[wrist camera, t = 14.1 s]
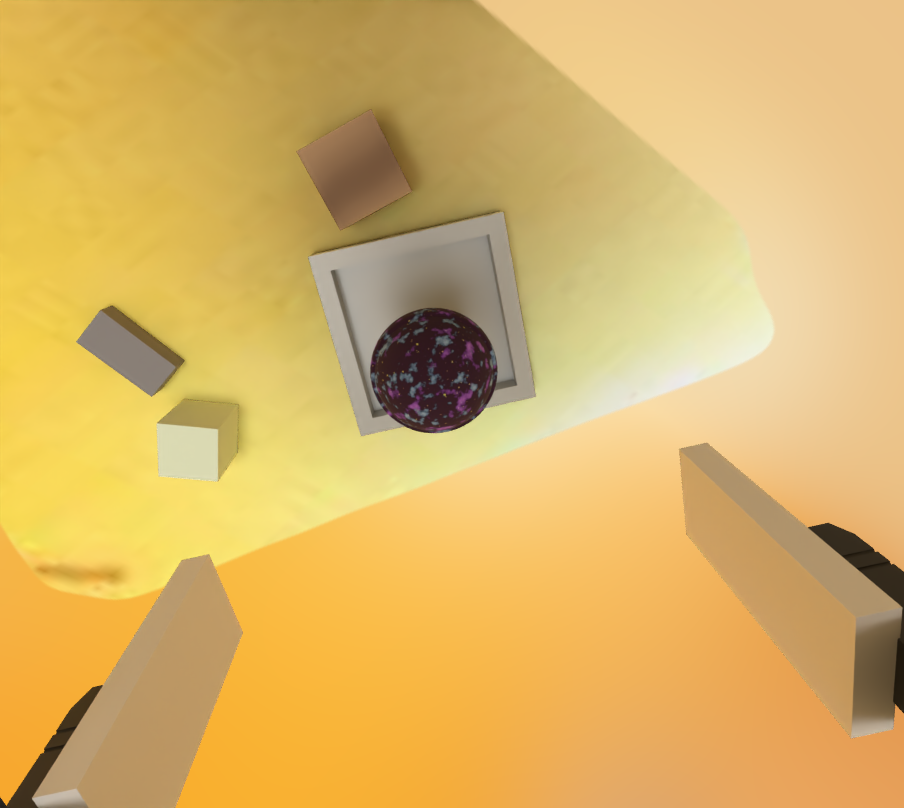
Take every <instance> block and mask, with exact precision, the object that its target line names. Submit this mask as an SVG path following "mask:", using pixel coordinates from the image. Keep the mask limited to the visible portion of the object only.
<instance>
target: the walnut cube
mask: <svg viewBox="0 0 904 808" xmlns="http://www.w3.org/2000/svg"><path fill="white" fill-rule="evenodd" d="M296 152H297V153H298V155H299V157H300V159H301V161H302V162H303V164H304V166H305V168H306V170H307V171H308V173H309V175H310V177H311V179H312V180H313V182H314V184H315V186H316V188H317V189H318V191H319V193H320V195H321V197H322V198H323V200H324V202H325V204H326V206H327V207H328V209H329V211H330V213H331V215H332V216H333V218H334V220H335V222H336V224H337V225H338V227H339V229H340V230H342V229H344V228H347V227H349V226H350V225H352V224H354V223H356V222H358V221H360V220H361V219H363V218H365V217H367V216H369V215H371V214H372V213H374V212H376V211H378V210H380V209H381V208H383V207H385V206H387V205H389V204H391V203H392V202H394V201H396V200H398V199H400V198H402V197H403V196H405V195H407V194H409V193H411V192H412V190H411V188H410V186H409V184H408V182H407V180H406V178H405V176H404V174H403V172H402V170H401V168H400V166H399V164H398V162H397V160H396V158H395V156H394V154H393V152H392V150H391V148H390V146H389V144H388V142H387V140H386V138H385V136H384V134H383V132H382V130H381V128H380V126H379V124H378V122H377V120H376V118H375V116H374V114H373V112H372V110H371V109H370V110H369V111H367V112H365V113H363V114H361V115H360V116H358V117H356V118H354V119H353V120H351V121H349V122H347V123H346V124H344V125H342V126H340V127H339V128H337V129H335V130H333V131H332V132H330V133H328V134H326V135H325V136H323V137H321V138H319V139H317V140H316V141H314V142H312V143H310V144H309V145H307V146H305V147H303V148H302V149H300V150H298V151H296Z"/></svg>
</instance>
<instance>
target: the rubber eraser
mask: <svg viewBox="0 0 904 808" xmlns="http://www.w3.org/2000/svg"><path fill="white" fill-rule="evenodd" d="M76 342H77V343H78V344H80V345H81V346H82V347H84V348H85V349H87V350H88V351H89V352H91V353H92V354H93V355H95V356H96V357H98V358H99V359H100V360H102V361H103V362H104V363H106V364H107V365H109V366H110V367H111V368H113V369H114V370H115V371H117V372H118V373H120V374H121V375H122V376H124V377H125V378H126V379H128V380H129V381H131V382H132V383H133V384H135V385H136V386H138V387H139V388H140V389H142V390H143V391H144V392H146V393H147V394H149V395H150V396H151V397H152V396H153V395H154V394H156V393H157V392H158V391H160V390H161V389H162V388H163V386H164V385H165V384H166V383H167V382H168V380H169V379H170V378H171V377H172V376H173V374H174V373H175V372H176V371H177V369H178V368H179V367H180V366H181V365H182V363H183V362H184V360H183V359H182V358H180V357H179V356H178V355H176V354H175V353H174V352H173V351H171V350H170V349H169V348H167V347H166V346H165V345H163V344H162V343H161V342H159V341H158V340H157V339H155V338H154V337H153V336H152V335H150V334H149V333H148V332H146V331H145V330H144V329H142V328H141V327H140V326H138V325H137V324H136V323H134V322H133V321H132V320H130V319H129V318H128V317H127V316H125V315H124V314H123V313H121V312H120V311H119V310H117V309H116V308H115V307H113V306H110V307H108V308H105V309H102V310H100V311H99V313H98V314H97V315H96V317H95V318H94V319H93V321H92V322H91V323H90V324H89V326H88V327H87V328H86V330H85V331H84V332H83V334H82V335H81V336H80V338H79V339H78V340H77V341H76Z"/></svg>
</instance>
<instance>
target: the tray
mask: <svg viewBox="0 0 904 808" xmlns="http://www.w3.org/2000/svg"><path fill="white" fill-rule="evenodd" d="M308 259H309V262H310V266H311V269H312V272H313V276H314V279H315V282H316V286H317V289H318V292H319V296H320V299H321V303H322V306H323V309H324V313H325V316H326V319H327V323H328V326H329V330H330V333H331V336H332V340H333V343H334V346H335V350H336V353H337V356H338V360H339V363H340V367H341V370H342V373H343V377H344V380H345V383H346V387H347V390H348V394H349V397H350V400H351V404H352V407H353V410H354V414H355V417H356V420H357V424H358V427H359V431H360V434H361V436H364V435H369V434H373V433H377V432H382V431H386V430H391V429H395V428H400V427H404V426H403V425H401V424H400V423H398V422H396V421H395V420H394V419H393V418H391V417H390V416H389V415H388V414H387V413H386V412H385V411H384V409H383V408H382V407H381V405H380V404H379V402H378V400H377V398H376V396H375V394H374V391H373V388H372V384H371V378H370V365H371V358H372V354H373V351H374V348H375V346H376V344H377V341H378V340H379V338H380V336H381V335H382V334H383V332H384V331H385V330H386V329H387V328H388V327H389V325H391V324H392V323H393V322H394V321H395V320H397V319H398V318H400V317H401V316H403V315H405V314H407V313H410V312H412V311H415V310H419V309H423V308H444V309H449V310H453V311H456V312H458V313H461V314H463V315H465V316H466V317H468V318H470V319H471V320H472V321H474V322H475V323H476V324H477V325H478V326H479V327H480V328H481V329H482V330H483V331H484V333H485V334H486V335H487V337H488V339H489V340H490V342H491V344H492V346H493V349H494V352H495V355H496V360H497V367H498V374H497V382H496V387H495V390H494V393H493V395H492V397H491V399H490V401H489V403H488V404H487V406H486V407H485V408H488V407H493V406H497V405H501V404H506V403H510V402H515V401H519V400H524V399H528V398H532V397H536V394H535V389H534V383H533V377H532V372H531V366H530V360H529V354H528V349H527V343H526V337H525V332H524V326H523V320H522V314H521V309H520V303H519V297H518V292H517V286H516V280H515V274H514V269H513V263H512V257H511V252H510V246H509V240H508V234H507V229H506V223H505V217H504V212H501V211H497V212H493V213H489V214H484V215H480V216H476V217H471V218H467V219H463V220H458V221H454V222H450V223H445V224H441V225H436V226H432V227H428V228H423V229H419V230H415V231H410V232H406V233H402V234H397V235H393V236H389V237H384V238H380V239H376V240H371V241H367V242H363V243H358V244H354V245H350V246H345V247H341V248H337V249H332V250H328V251H324V252H319V253H315V254H312V255H310V256H309V257H308Z"/></svg>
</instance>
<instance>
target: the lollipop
mask: <svg viewBox="0 0 904 808" xmlns="http://www.w3.org/2000/svg"><path fill="white" fill-rule="evenodd" d="M497 374H498V367H497V360H496V355H495V352H494V349H493V346H492V344H491V342H490V340H489V339H488V337H487V335H486V334H485V333H484V331H483V330H482V329H481V328H480V327H479V326H478V325H477V324H476V323H475V322H474V321H472V320H471V319H470V318H468V317H466V316H465V315H463V314H461V313H458V312H456V311H453V310H449V309H444V308H423V309H419V310H415V311H412V312H410V313H407V314H405V315H403V316H401V317H400V318H398V319H397V320H395V321H394V322H393V323H392V324H391V325H389V327H388V328H387V329H386V330H385V331H384V332H383V334H382V335H381V336H380V338H379V340H378V341H377V344H376V346H375V348H374V351H373V354H372V358H371V365H370V378H371V384H372V388H373V391H374V394H375V396H376V398H377V400H378V402H379V404H380V405H381V407H382V408H383V409H384V411H385V412H386V413H387V414H388V415H389V416H390V417H391V418H393V419H394V420H395V421H396V422H398V423H400V424H401V425H403V426H405V427H407V428H410V429H412V430H415V431H419V432H425V433H443V432H448V431H452V430H455V429H458V428H460V427H462V426H464V425H466V424H468V423H469V422H471V421H472V420H473V419H475V418H476V417H477V416H478V415H479V414H480V413H481V412H482V411H483V410H484V408H485V407H486V406H487V404H488V403H489V401H490V399H491V397H492V395H493V393H494V390H495V387H496V382H497Z"/></svg>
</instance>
